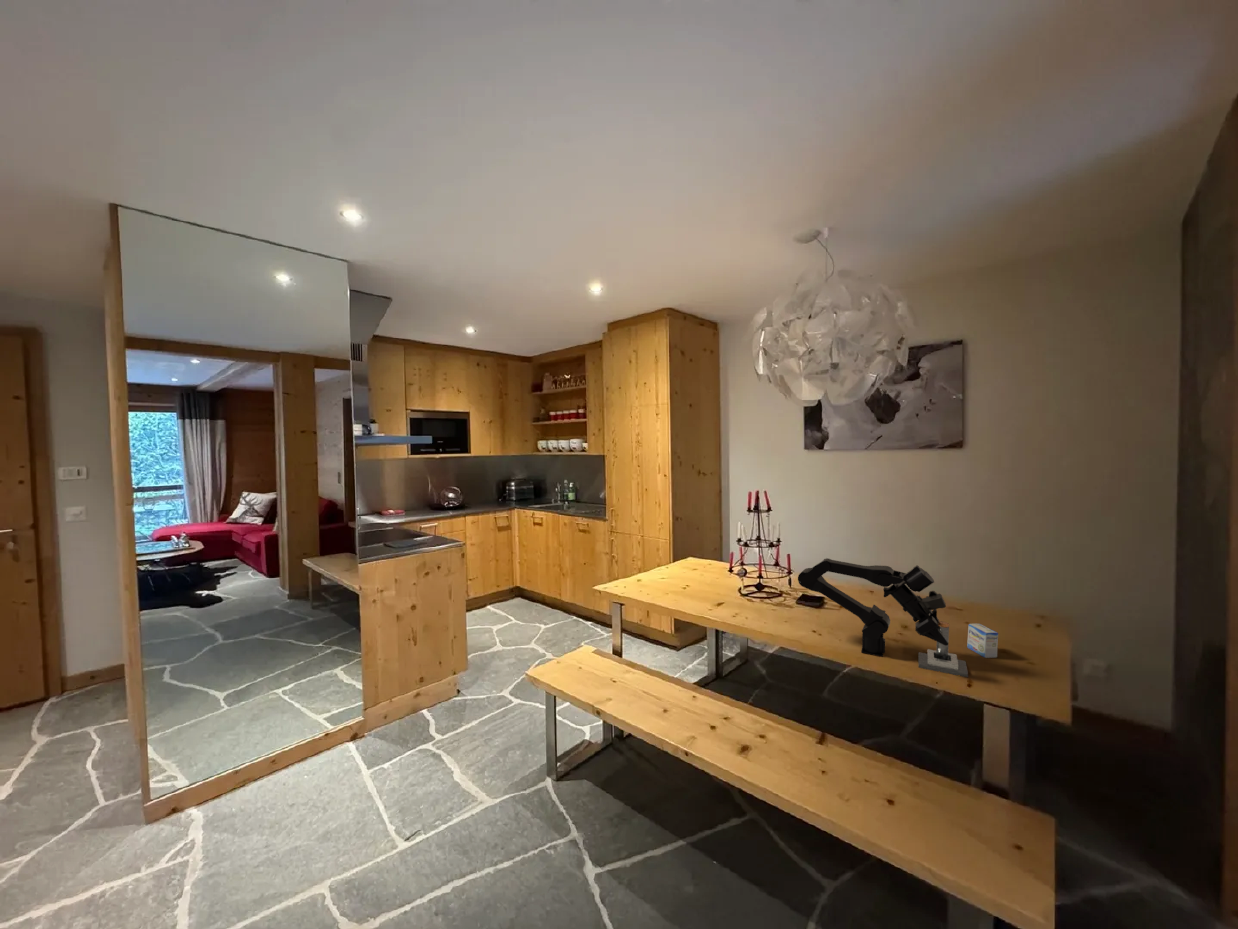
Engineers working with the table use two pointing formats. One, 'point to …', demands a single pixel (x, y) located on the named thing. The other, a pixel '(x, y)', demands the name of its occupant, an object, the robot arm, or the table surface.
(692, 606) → the table surface
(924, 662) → the plate
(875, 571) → the robot arm
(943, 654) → the steel pin
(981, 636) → the medicine box
